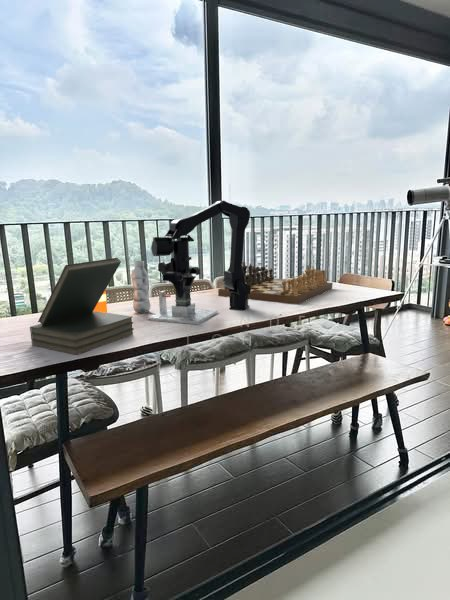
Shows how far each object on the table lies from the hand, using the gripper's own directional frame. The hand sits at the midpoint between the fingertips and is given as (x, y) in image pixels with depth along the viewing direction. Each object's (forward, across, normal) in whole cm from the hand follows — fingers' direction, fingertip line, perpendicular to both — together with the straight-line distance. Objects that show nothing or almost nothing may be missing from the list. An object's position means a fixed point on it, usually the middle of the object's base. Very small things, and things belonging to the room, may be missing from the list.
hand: (183, 296), depth 155 cm
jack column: (+4, 0, 0) cm, 4 cm away
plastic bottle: (+8, -1, -19) cm, 20 cm away
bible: (+8, +36, -15) cm, 40 cm away
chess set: (+8, -56, +20) cm, 60 cm away
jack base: (+7, 0, 0) cm, 7 cm away
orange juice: (+8, +10, -34) cm, 36 cm away
